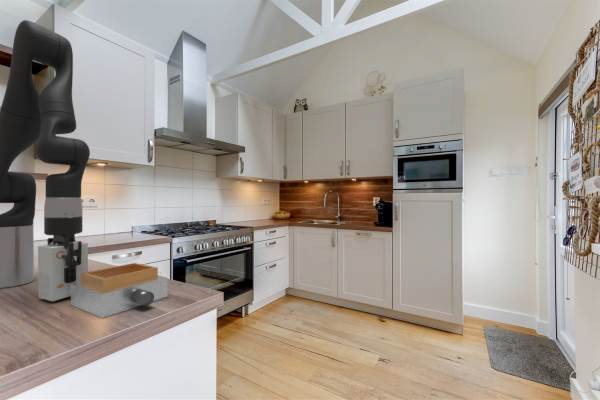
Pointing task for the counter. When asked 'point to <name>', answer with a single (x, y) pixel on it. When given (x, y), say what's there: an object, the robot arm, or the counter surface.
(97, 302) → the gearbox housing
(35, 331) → the counter surface
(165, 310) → the counter surface
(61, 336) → the counter surface
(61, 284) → the small box
